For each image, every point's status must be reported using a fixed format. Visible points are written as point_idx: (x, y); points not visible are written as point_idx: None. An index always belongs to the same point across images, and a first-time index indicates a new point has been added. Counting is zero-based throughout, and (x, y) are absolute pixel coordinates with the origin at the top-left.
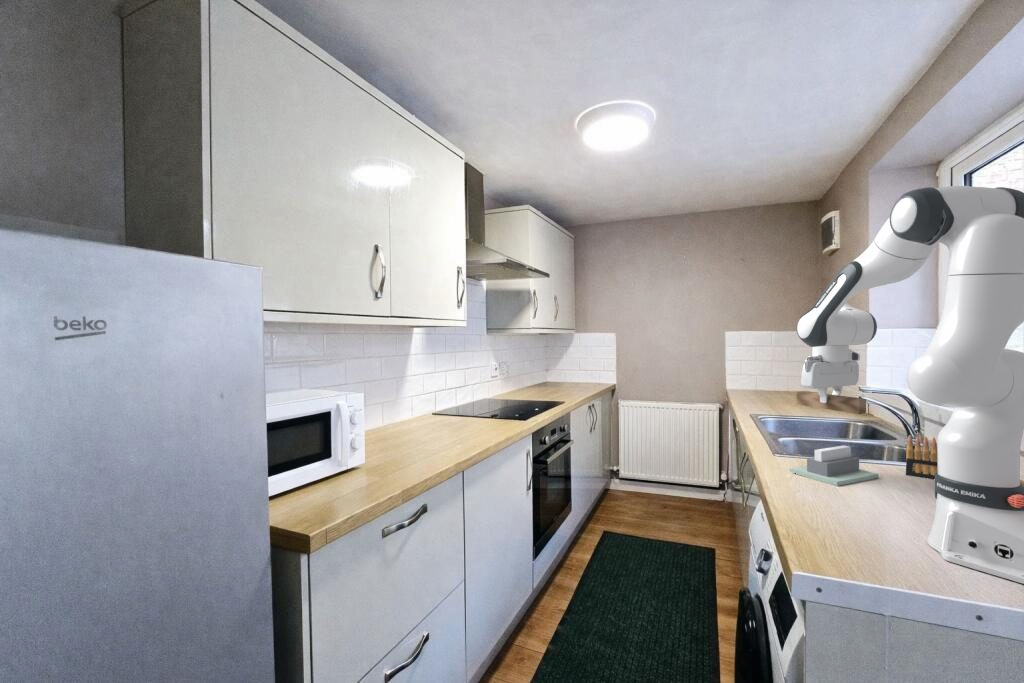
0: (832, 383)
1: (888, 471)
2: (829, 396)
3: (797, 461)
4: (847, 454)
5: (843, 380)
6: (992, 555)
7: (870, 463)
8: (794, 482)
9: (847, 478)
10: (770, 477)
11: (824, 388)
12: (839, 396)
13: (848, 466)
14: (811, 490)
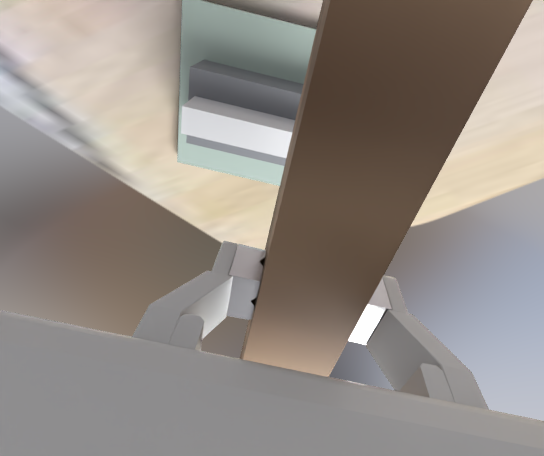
0: (419, 445)
1: (73, 8)
2: (361, 305)
3: (216, 223)
4: (210, 103)
5: (119, 429)
6: None
7: (40, 90)
8: None
9: None
10: (433, 207)
11: (483, 408)
12: (352, 244)
13: (256, 77)
14: (509, 85)
